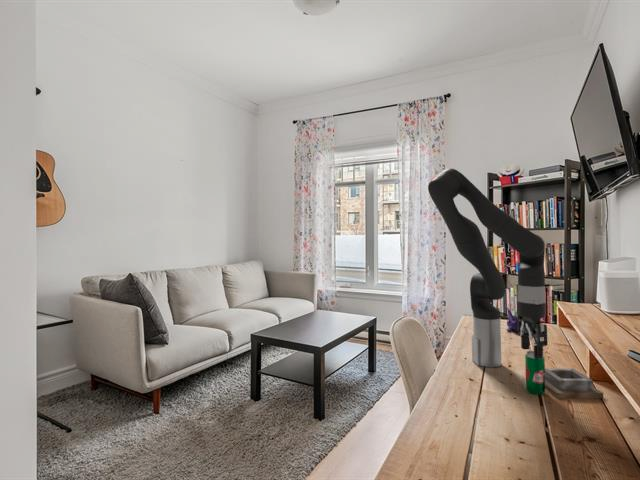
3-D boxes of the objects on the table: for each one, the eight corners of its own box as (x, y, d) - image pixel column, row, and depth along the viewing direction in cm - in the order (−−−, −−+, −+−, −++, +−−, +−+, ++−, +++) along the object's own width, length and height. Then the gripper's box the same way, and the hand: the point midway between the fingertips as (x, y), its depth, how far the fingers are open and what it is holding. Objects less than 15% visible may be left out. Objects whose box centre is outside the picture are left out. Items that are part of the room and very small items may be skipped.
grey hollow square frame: (556, 398, 109) (556, 382, 109) (534, 380, 122) (534, 366, 122) (603, 398, 108) (603, 382, 108) (575, 380, 121) (575, 366, 121)
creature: (504, 335, 175) (504, 308, 175) (507, 326, 191) (507, 302, 190) (526, 337, 170) (525, 310, 170) (527, 328, 186) (527, 303, 186)
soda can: (535, 396, 110) (534, 356, 110) (521, 390, 115) (521, 351, 115) (549, 394, 112) (548, 354, 111) (535, 387, 116) (534, 349, 116)
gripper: (508, 296, 120) (509, 346, 121) (528, 304, 106) (529, 361, 106) (533, 296, 119) (533, 346, 120) (556, 304, 105) (557, 362, 106)
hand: (531, 353), depth 113 cm, fingers open, 8 cm apart
